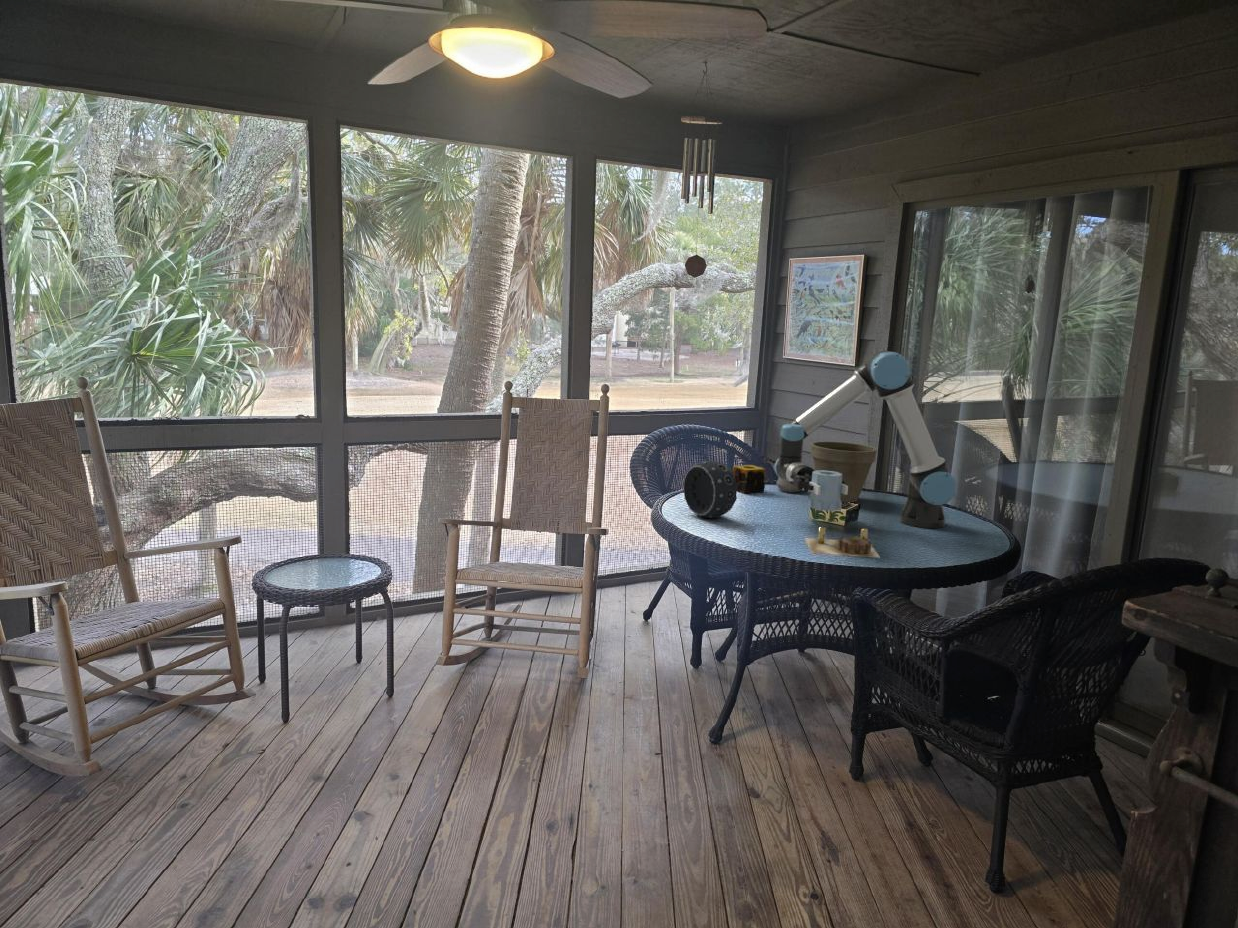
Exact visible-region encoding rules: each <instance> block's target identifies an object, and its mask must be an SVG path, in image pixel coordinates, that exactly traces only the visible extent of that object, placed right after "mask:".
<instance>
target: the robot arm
mask: <svg viewBox="0 0 1238 928" xmlns="http://www.w3.org/2000/svg"><path fill="white" fill-rule="evenodd" d="M853 371H854V372H853V375H852V376H850V377H849V378H848V379H847V380H845V381H843V382H842V384H840V385H838V386H837V387H836V388H834V389H833V390H832V391H830V392H829V393H828V394H827V395H825V396H824V397H823V398H822V399H820V400H819V401H817V402H816V403H815V404H813V405H812V406H811V407H810V408H808V409H807V410H805V411H804V412H803V413H802V414H800V415H799V416H797V417H796V418H795V419H794V420H792V421H791V422H789V423H786V424H783V425H782V427H781V429H780V431H779V434H778V437H779V442H780V443H779V444H780V446H779V447H780V448H779V449H780V450H779V457H778V458H777V459H776V460H775V461H776V463H775V464H773V465H774V466H773V469H774V472H775V473H774V474H776V475H777V476H778V478H779V477H780V478H782V479H784V480H786V481H789V482H790V483H791V484H793V485H794V486H796V487H797V488H798V489H802V488H803V489H802V490H803V492H804V493H808V492H810V493H811V492H813V493H815V494H817V495H820V491H821V486H819V485H817V484H815V483H813V482H812V472H814V471H815V468H813V467H811V466H808V465H807V464H806V463H805V464H804V463H802V458H803V447H804V440H805V439H806V438H807V437H809V436H810V435H811V434H812V433H814V432H815V431H816V430H818V429H819V428H820V427H822V426H823V425H824V424H826V423H827V422H829V421H830V420H831V419H833V418H834V417H835V416H837V415H838V414H839V413H841V412H842V411H844V409H846V408H848V407H850V405H852V404H853V403H854V402H856V401H857V400H858V399H860V398H861V397H862V396H864V395H866V393H873V392H874V391H875V390H876V392H877V394H878V396H879V398H880V399H883V400H884V401H886V403H887V406H888V408H889V411H890V414H891V416H892V418H893V421H894V422H895V426H896V428H897V431H898V433H899V435H900V438H901V441H902V442H903V445H904V448H905V450H906V453H907V455H908V458H909V459H910V466H909V480H908V487H907V489H908V490H907V496H906V497H907V499H906V502H905V504H904V505H903V508H902V510H901V512H900V516H899V521H900V522H901V523H903V524H905V525H908V526H912V527H917V528H918V527H919V528H926V529H937V528H944V527H945V526H946V516H945V511H944V507H943V505H945V504H948V503H949V502H951V501H952V500H953V499H955V496H956V495H957V492H958V483H957V480H956V477H955V476H954V475H952V473H951V471H950V469H949V465H948V464H947V461H946V459H945V458H944V457H941V456H939V454H938V452H937V450H936V446H935V445H934V442H933V440H932V437H931V435H930V432H929V430H928V428H927V426H926V423H925V420H924V418H923V415H922V413H921V410H920V408H919V406H918V403H917V401H916V398H915V396H914V393H913V388H914V386H915V383H914V380H913V378H912V376H911V372H910V371H911V369H910V364H909V361H907V359H906V358H905V357H904V356H903V355H902V354H901V353H898V352H895V351H888V350H882V351H877V352H876V353H874V354H873V355H871V356H870V357H869V358H868V359H867V360H866V361H864V362H863V363H862V364H861V365H860V366H859V367H858V368H856V369H854V370H853ZM841 493H843V494H845V495H847V494H848V486H847V485H845V481H842V484H841Z"/></svg>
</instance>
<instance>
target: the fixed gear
mask: <svg viewBox="0 0 1238 928" xmlns="http://www.w3.org/2000/svg"><path fill="white" fill-rule="evenodd" d="M838 540H839V546H838V549H839V550H842V551H841V552H843V553H850V554H852V555H854V554H859V555H864V554H870V551H871V545H872V541H869V540H868V539H867V540H866V539H860V537H859V536H857V535H855V536H845V537H840V538H839V539H838Z"/></svg>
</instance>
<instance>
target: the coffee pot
mask: <svg viewBox="0 0 1238 928" xmlns="http://www.w3.org/2000/svg"><path fill="white" fill-rule="evenodd" d="M765 460H767V461H766V462H765ZM776 461H777V460H774V459H772V458H769V457H766V458H764V459H763V462H764V464H765V463H768V462H770V463H772V464H773V465H775V463H776ZM776 486H777V488H778V489H780V492H781V491H782V492H783V493H795V492H796V493H799V492H800V491H801V490H804V489H803V488H802V489H798V488H797V487H796V486H794V485H793V484H791V483H790V482H789V481H786V480H784V479H782V478H780V477H779V476H778V479H777V481H776Z"/></svg>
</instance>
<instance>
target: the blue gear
mask: <svg viewBox="0 0 1238 928" xmlns="http://www.w3.org/2000/svg"><path fill="white" fill-rule="evenodd" d="M812 482H813V483H815V484H817V485H819V486H821V491H820V495H817V494H815V493H813V492H811V491H810V496H809V497H807V507H808V508H809V509H814V510H816V511H819V512H820V511H827V512H835V511H841V510H842V507H843V506H842V505H843V503H842V502H841V500H840V494H841V484H842V474H841V473H838V472H834V471H827V470H816V471H814V472H812Z"/></svg>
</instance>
